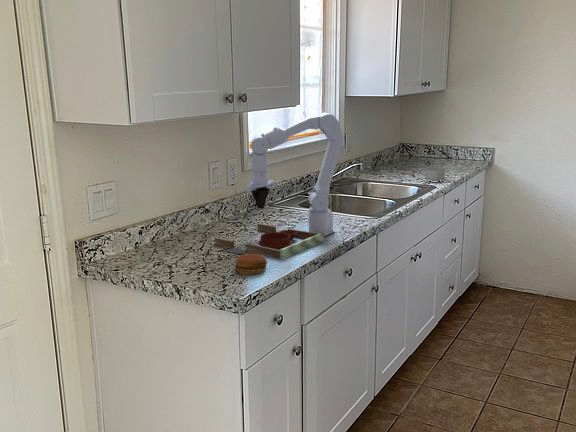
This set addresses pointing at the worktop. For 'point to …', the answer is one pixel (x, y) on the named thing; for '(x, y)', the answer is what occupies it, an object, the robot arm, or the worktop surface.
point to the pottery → (277, 239)
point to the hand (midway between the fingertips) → (260, 208)
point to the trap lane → (283, 253)
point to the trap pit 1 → (235, 251)
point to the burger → (250, 264)
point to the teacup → (435, 173)
